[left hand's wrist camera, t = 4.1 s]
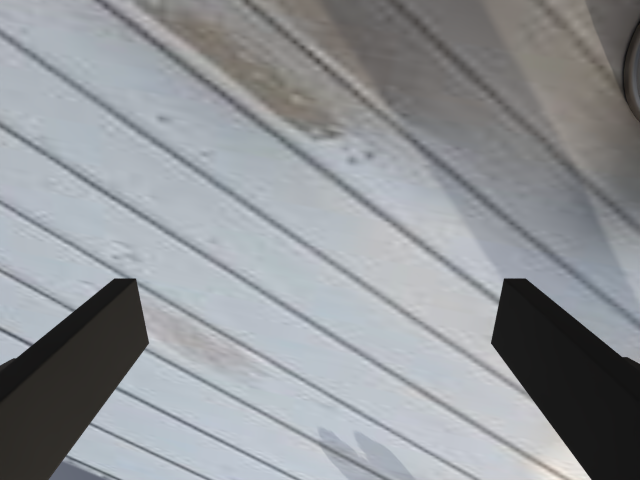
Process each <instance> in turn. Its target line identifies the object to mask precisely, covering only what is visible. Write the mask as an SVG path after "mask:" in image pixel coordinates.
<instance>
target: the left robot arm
mask: <svg viewBox="0 0 640 480" xmlns="http://www.w3.org/2000/svg"><path fill="white" fill-rule="evenodd" d="M624 90H625V94H626V98H627V101H628V104H629V106H630V109H631V111H632V112H633V114H634V115H635V117H636V118H637V119H638V120H639V121H640V23H639V25H638V27H637V28H636V31H635V33H634V35H633V37H632V40H631V42H630V45H629V48H628V52H627V55H626V60H625V66H624ZM148 344H149V341H148V336H147V331H146V326H145V321H144V316H143V311H142V306H141V301H140V296H139V291H138V286H137V281H136V279H113V280H112V281H111V282H110V283H108V284H107V285H106V286H105V287H103V288H102V289H101V290H100V291H99V292H97V293H96V294H95V295H94V296H92V297H91V298H90V299H89V300H87V301H86V302H85V303H84V304H83V305H81V306H80V307H79V308H78V309H76V310H75V311H74V312H73V313H72V314H70V315H69V316H68V317H67V318H65V319H64V320H63V321H62V322H60V323H59V324H58V325H57V326H56V327H54V328H53V329H52V330H51V331H49V332H48V333H47V334H46V335H44V336H43V337H42V338H41V339H40V340H38V341H37V342H36V343H35V344H33V345H32V346H31V347H30V348H28V349H27V350H26V351H25V352H24V353H22V354H21V355H20V356H19V357H17V358H13V359H11V360H9V361H8V362H6V363H4V364H2V365H0V480H49V478H50V477H51V475H52V474H53V473H54V471H55V470H56V469H57V467H58V466H59V465H60V463H61V462H62V461H63V459H64V458H65V456H66V455H67V454H68V452H69V451H70V450H71V448H72V447H73V446H74V444H75V443H76V442H77V440H78V439H79V438H80V436H81V435H82V433H83V432H84V431H85V429H86V428H87V427H88V425H89V424H90V423H91V421H92V420H93V419H94V417H95V416H96V414H97V413H98V412H99V410H100V409H101V408H102V406H103V405H104V404H105V402H106V401H107V400H108V398H109V397H110V395H111V394H112V393H113V391H114V390H115V389H116V387H117V386H118V385H119V383H120V382H121V381H122V379H123V378H124V376H125V375H126V374H127V372H128V371H129V370H130V368H131V367H132V366H133V364H134V363H135V362H136V360H137V359H138V357H139V356H140V355H141V353H142V352H143V351H144V349H145V348H146V347H147V345H148ZM491 344H492V345H493V347H494V348H495V349H496V351H497V352H498V353H499V355H500V356H501V357H502V359H503V360H504V362H505V363H506V364H507V366H508V367H509V368H510V370H511V371H512V372H513V374H514V375H515V376H516V378H517V379H518V381H519V382H520V383H521V385H522V386H523V387H524V389H525V390H526V391H527V393H528V394H529V395H530V397H531V398H532V400H533V401H534V402H535V404H536V405H537V406H538V408H539V409H540V410H541V412H542V413H543V414H544V416H545V417H546V419H547V420H548V421H549V423H550V424H551V425H552V427H553V428H554V429H555V431H556V432H557V433H558V435H559V436H560V438H561V439H562V440H563V442H564V443H565V444H566V446H567V447H568V448H569V450H570V451H571V452H572V454H573V455H574V456H575V458H576V459H577V461H578V462H579V463H580V465H581V466H582V467H583V469H584V470H585V471H586V473H587V474H588V475H589V477H590V478H591V480H640V364H639V363H637V362H635V361H633V360H631V359H630V358H628V357H621V356H620V355H619V354H618V353H616V352H615V351H614V350H613V349H612V348H610V347H609V346H608V345H607V344H605V343H604V342H603V341H602V340H600V339H599V338H598V337H597V336H596V335H594V334H593V333H592V332H591V331H589V330H588V329H587V328H586V327H584V326H583V325H582V324H581V323H580V322H578V321H577V320H576V319H575V318H573V317H572V316H571V315H570V314H568V313H567V312H566V311H565V310H564V309H562V308H561V307H560V306H559V305H557V304H556V303H555V302H554V301H553V300H551V299H550V298H549V297H548V296H546V295H545V294H544V293H543V292H541V291H540V290H539V289H538V288H537V287H535V286H534V285H533V284H532V283H530V282H529V281H528V280H527V279H504V281H503V286H502V291H501V296H500V301H499V306H498V311H497V316H496V321H495V326H494V331H493V336H492V341H491Z"/></svg>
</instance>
